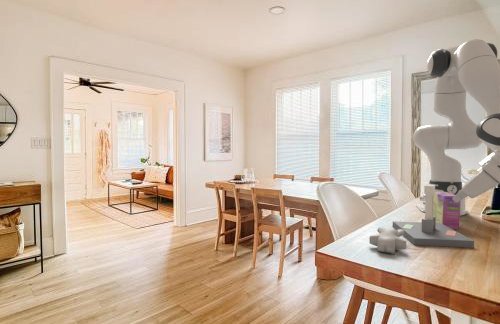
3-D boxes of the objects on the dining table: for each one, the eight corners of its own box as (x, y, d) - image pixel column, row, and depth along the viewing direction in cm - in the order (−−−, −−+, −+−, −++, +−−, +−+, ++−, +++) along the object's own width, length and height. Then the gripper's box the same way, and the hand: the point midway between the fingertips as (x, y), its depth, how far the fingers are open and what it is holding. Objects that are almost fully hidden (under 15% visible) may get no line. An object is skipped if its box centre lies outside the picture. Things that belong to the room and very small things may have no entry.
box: (460, 229, 103) (461, 196, 102) (442, 228, 104) (443, 195, 103) (446, 221, 113) (447, 191, 112) (430, 221, 114) (431, 191, 113)
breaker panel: (392, 226, 106) (392, 210, 105) (440, 228, 103) (440, 211, 103) (414, 244, 86) (414, 224, 86) (473, 247, 83) (474, 227, 83)
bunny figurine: (366, 238, 80) (375, 220, 93) (366, 255, 81) (375, 235, 94) (405, 243, 75) (408, 224, 88) (404, 262, 76) (408, 240, 89)
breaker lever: (435, 227, 95) (436, 184, 94) (433, 230, 92) (434, 186, 91) (424, 226, 97) (425, 184, 96) (422, 229, 94) (423, 185, 93)
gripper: (487, 161, 92) (449, 188, 99) (487, 163, 77) (442, 196, 83) (505, 175, 90) (464, 203, 96) (509, 181, 74) (460, 213, 81)
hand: (454, 200), depth 90 cm, fingers closed
